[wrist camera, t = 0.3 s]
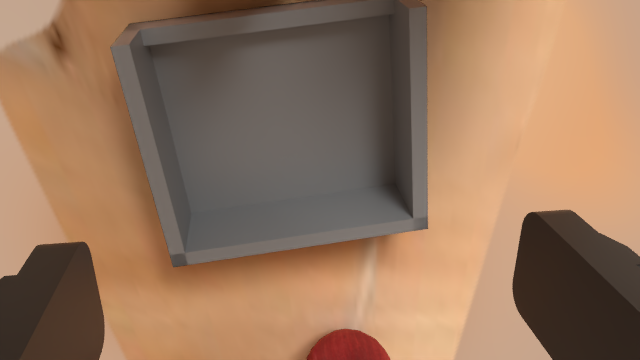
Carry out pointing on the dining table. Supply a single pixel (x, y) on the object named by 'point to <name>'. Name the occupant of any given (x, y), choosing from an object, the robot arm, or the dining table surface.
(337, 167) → the box
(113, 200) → the dining table surface
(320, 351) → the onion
